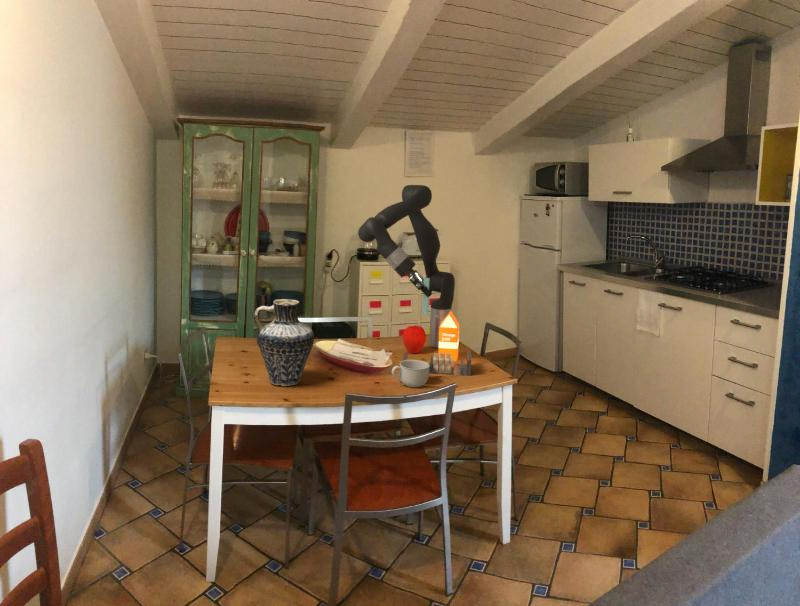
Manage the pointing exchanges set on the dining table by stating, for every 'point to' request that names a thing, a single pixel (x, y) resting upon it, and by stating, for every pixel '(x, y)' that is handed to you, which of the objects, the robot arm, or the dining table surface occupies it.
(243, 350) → the dining table surface
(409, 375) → the teacup
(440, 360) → the offcut
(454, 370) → the rack
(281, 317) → the jug
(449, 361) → the offcut
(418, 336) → the apple
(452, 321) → the orange juice
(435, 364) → the offcut
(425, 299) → the teal board
